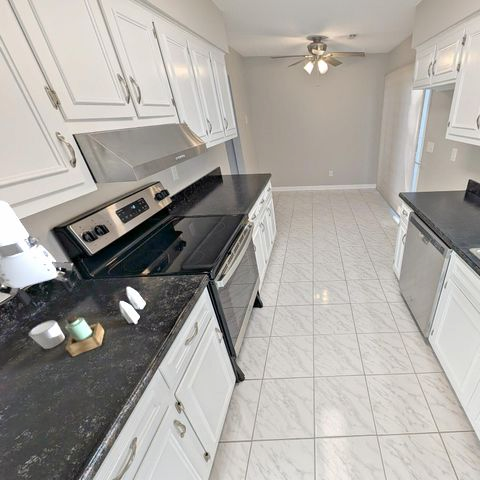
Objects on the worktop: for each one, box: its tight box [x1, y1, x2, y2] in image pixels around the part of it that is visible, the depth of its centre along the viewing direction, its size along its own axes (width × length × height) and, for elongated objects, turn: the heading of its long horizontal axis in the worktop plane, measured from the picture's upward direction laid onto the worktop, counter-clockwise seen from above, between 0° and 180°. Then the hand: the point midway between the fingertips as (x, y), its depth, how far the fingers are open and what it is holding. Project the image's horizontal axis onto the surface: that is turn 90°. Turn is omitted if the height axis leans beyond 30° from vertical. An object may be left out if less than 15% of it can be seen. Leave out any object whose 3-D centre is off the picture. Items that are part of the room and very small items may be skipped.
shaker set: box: [118, 286, 146, 325], centre depth 95 cm, size 12×4×11 cm, turn 12°
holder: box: [65, 322, 105, 357], centre depth 85 cm, size 8×8×4 cm
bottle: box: [64, 313, 93, 342], centre depth 83 cm, size 5×5×12 cm
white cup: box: [28, 320, 66, 350], centre depth 86 cm, size 7×7×7 cm
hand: (49, 296), depth 76 cm, fingers open, 9 cm apart
